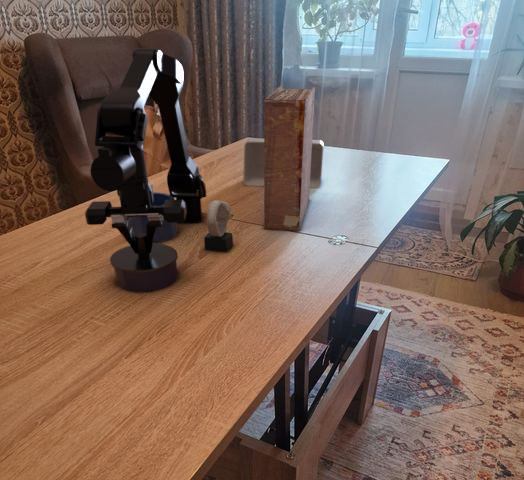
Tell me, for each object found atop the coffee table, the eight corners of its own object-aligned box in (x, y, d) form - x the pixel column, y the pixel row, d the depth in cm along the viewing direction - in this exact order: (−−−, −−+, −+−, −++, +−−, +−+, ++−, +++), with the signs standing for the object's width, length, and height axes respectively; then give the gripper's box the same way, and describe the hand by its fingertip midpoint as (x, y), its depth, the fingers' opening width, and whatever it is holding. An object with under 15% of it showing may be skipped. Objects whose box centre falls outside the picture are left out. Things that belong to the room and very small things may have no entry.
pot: (179, 223, 128) (176, 191, 123) (175, 242, 118) (171, 208, 113) (131, 225, 127) (126, 192, 122) (123, 243, 117) (117, 209, 112)
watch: (235, 242, 118) (233, 197, 111) (224, 255, 111) (221, 208, 105) (213, 239, 119) (211, 195, 113) (201, 252, 113) (198, 206, 106)
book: (278, 198, 145) (280, 85, 127) (309, 200, 143) (315, 86, 126) (264, 229, 124) (263, 100, 107) (299, 231, 123) (305, 101, 106)
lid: (180, 246, 106) (177, 222, 103) (175, 274, 95) (171, 248, 91) (117, 248, 105) (112, 223, 102) (104, 276, 94) (98, 250, 91)
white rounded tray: (321, 174, 166) (324, 135, 159) (320, 188, 153) (323, 146, 146) (250, 172, 169) (249, 133, 162) (243, 185, 156) (242, 144, 149)
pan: (179, 264, 108) (177, 245, 105) (174, 290, 97) (172, 270, 95) (122, 265, 107) (119, 247, 104) (111, 292, 97) (107, 272, 94)
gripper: (184, 162, 97) (191, 236, 106) (90, 164, 96) (105, 238, 105) (180, 178, 88) (188, 257, 97) (76, 180, 87) (94, 260, 96)
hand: (143, 252), depth 99 cm, fingers closed on lid, 2 cm apart
